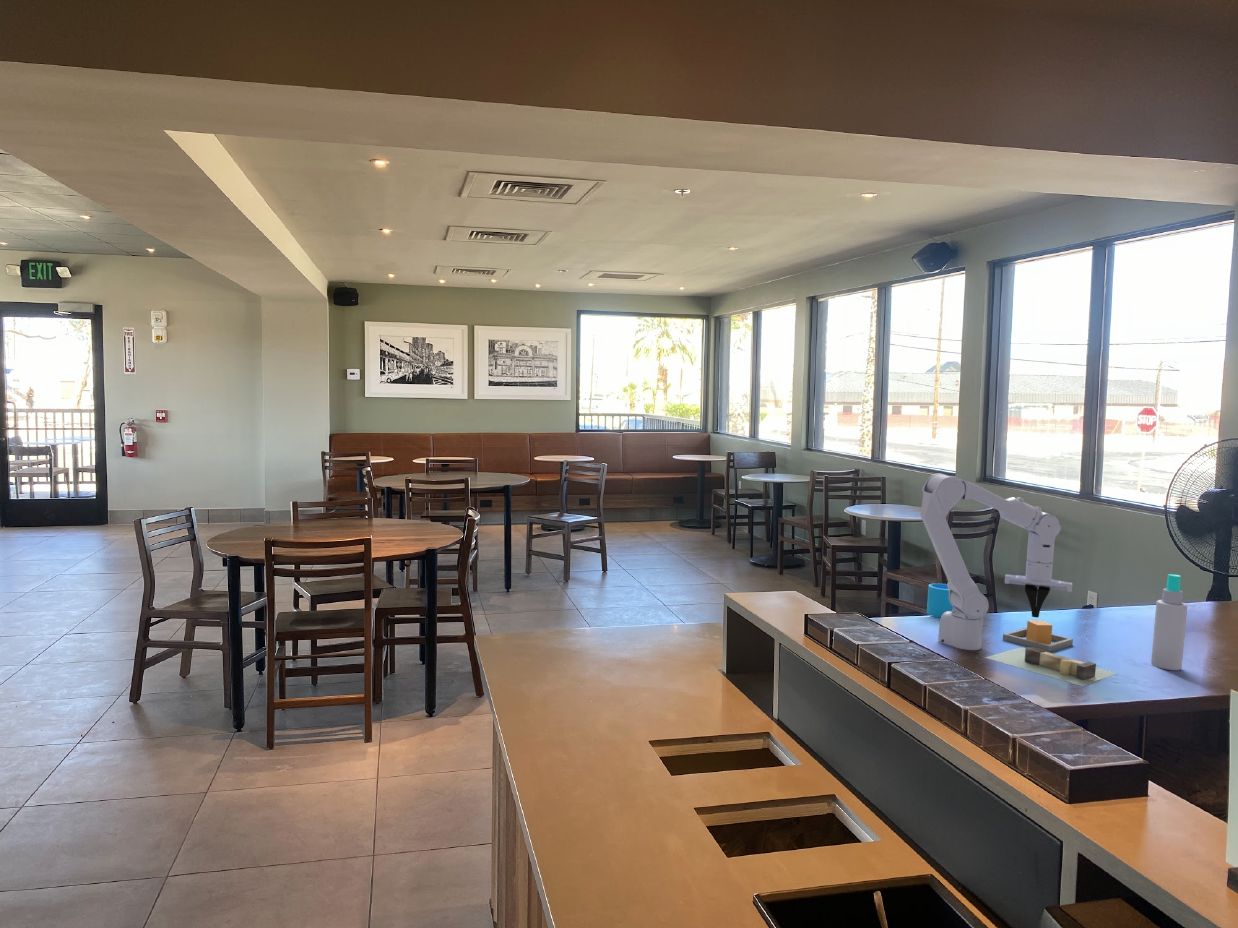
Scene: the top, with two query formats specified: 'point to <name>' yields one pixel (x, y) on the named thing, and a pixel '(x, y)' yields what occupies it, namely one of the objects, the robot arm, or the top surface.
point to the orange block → (1039, 632)
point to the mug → (938, 600)
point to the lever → (1053, 661)
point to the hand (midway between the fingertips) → (1035, 616)
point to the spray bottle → (1169, 627)
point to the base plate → (1018, 660)
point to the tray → (1015, 638)
